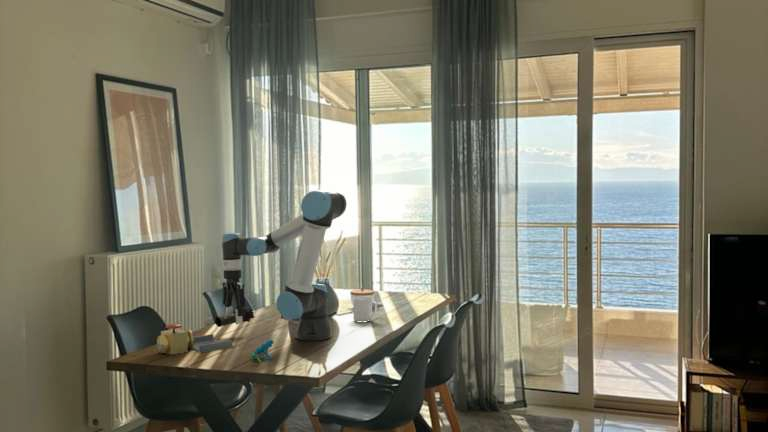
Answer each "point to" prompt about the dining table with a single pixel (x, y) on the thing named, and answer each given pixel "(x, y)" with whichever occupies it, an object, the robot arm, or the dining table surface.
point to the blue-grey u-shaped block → (210, 343)
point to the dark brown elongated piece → (233, 318)
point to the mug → (363, 308)
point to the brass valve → (175, 340)
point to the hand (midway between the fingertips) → (234, 322)
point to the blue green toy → (262, 350)
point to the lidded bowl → (362, 293)
